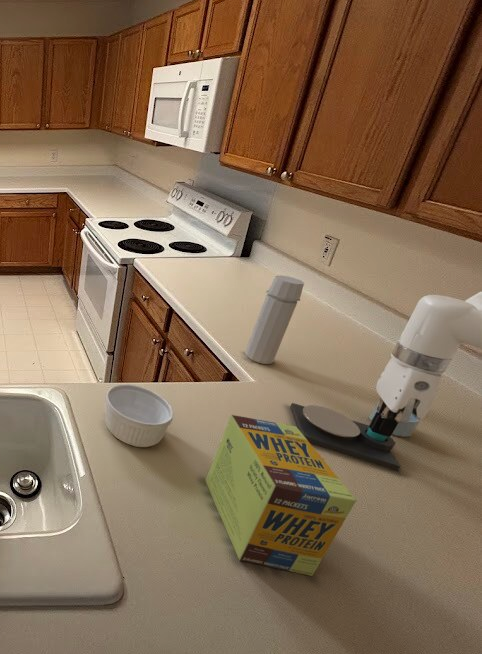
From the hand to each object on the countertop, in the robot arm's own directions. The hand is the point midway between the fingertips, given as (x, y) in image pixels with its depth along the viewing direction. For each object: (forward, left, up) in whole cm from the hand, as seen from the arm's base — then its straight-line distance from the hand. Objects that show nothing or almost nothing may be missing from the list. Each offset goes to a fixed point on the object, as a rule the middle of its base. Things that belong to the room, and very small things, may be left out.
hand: (379, 431), depth 87 cm
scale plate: (+8, 0, -1) cm, 8 cm away
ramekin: (+47, +23, -4) cm, 52 cm away
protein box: (+26, +36, -4) cm, 44 cm away
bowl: (-6, -11, -4) cm, 13 cm away
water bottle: (+18, -30, -4) cm, 35 cm away
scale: (+6, 0, -4) cm, 7 cm away
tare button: (0, 0, -2) cm, 2 cm away
